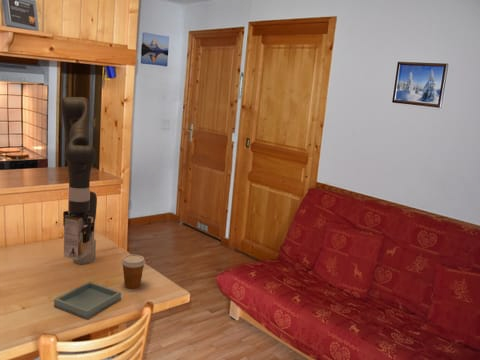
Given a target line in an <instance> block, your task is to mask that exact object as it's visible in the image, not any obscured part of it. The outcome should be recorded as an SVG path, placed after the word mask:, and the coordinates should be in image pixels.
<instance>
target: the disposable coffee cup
mask: <svg viewBox="0 0 480 360" xmlns="http://www.w3.org/2000/svg"><path fill="white" fill-rule="evenodd" d="M121 264H122V272H123V281H124V287H125V288H126V289H132V290H134V289H138V288H140V286H141V282H142V278H143V271H144V266H145V264H146V260H145V257H144V256H142V255H139V254H128V255H125V256H124V257H122V260H121Z"/></svg>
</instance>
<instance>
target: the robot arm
mask: <svg viewBox="0 0 480 360" xmlns="http://www.w3.org/2000/svg"><path fill="white" fill-rule="evenodd" d="M90 105H91V103H90V101H89V99H88V98H87V97H83V96H66V97H65V96H64V97H62V98H61V102H60V106H61V116H62V120H63V128H64V134H65V153H64V159H65V161H66V162H67V168H68V169H67V171H68V200H67V201H68V206H67V207H68V209H67V210H65V211H63V212H62V214H63V215H62V218H63V219H62V220H63V221H62V223H63V225H62V226H63V227H64V217H65V216H67V215H70V214H74V215H77V216H81V217H83V220H84V221H85V220H86V221H87V225H84V226H83V227H82V228H83V233H84V234H83V243H88V241H89V234H90V233H92V245H91V253H89V254H87V255H86V256H84V257H82V258H81V259H79V260H76V259H72V262H73V263H75V264H77V265H87V264H91V263H93V262H94V261H95V260H96V257H97V256H96V255H97V254H96V247H97V245H96V244H97V243H96V242H97V240H96V238H95V226H96V225H95V224H96V222H95V221H96V218H97V207H98V197H97V194H96V193H95V192H94V191H91V188H90V181H91V180H90V179H91V173H92V172H91V171H92V168H93V165H94V163H95V159H96V149H95V147H94V146H92V145H90V135H89V129H90V122H91V121H90V120H91V119H90V118H91V106H90ZM72 120H73V121H74V120H77V121H75V122H74V123H73V122H72ZM88 213H92V217H89V216H88ZM85 227H86V230H85ZM90 228H91V229H90Z"/></svg>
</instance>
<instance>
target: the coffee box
mask: <svg viewBox="0 0 480 360" xmlns="http://www.w3.org/2000/svg"><path fill="white" fill-rule="evenodd" d="M88 216H89V217H92V213H88ZM84 225H87V221H86V220H85V221H84V220H83V217H81V216H77V215H74V214H70V215H67V216H65V217H64V226H63V258H66V259H71V260H73V259H76V260H79V259H81V258H82V257H84V256H86V255H87V254H89V253H91V245H92V233H90V234H89V241H88V243H83V234H84V233H83V228H82V227H83V226H84ZM90 229H91V228H90ZM85 230H86V227H85Z"/></svg>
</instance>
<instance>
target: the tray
mask: <svg viewBox="0 0 480 360" xmlns="http://www.w3.org/2000/svg"><path fill="white" fill-rule="evenodd" d="M121 300H122V292H121V291H118V290H116V289H112V288H109V287H107V286H104V285H101V284H98V283H94V282H93V281H88V282H87V283H84V284H82V285H80V286H78V287H76V288H74V289H72V290H70V291H68V292H65V293H64V294H62V295H60V296H58V297H56V298H53V307H54V308H56V309H58V310H61V311H64V312H67V313H70V314H72V315H75V316H77V317H80V318H83V319H84V318H85V319H84V320H89V319H91V318H92V317H94V316H96V315H97V314H99V313H101V312H102V311H104V310H106V309H107V308H109V307H110V306H112V305H114V304H115V303H117V302H119V301H121Z"/></svg>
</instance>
